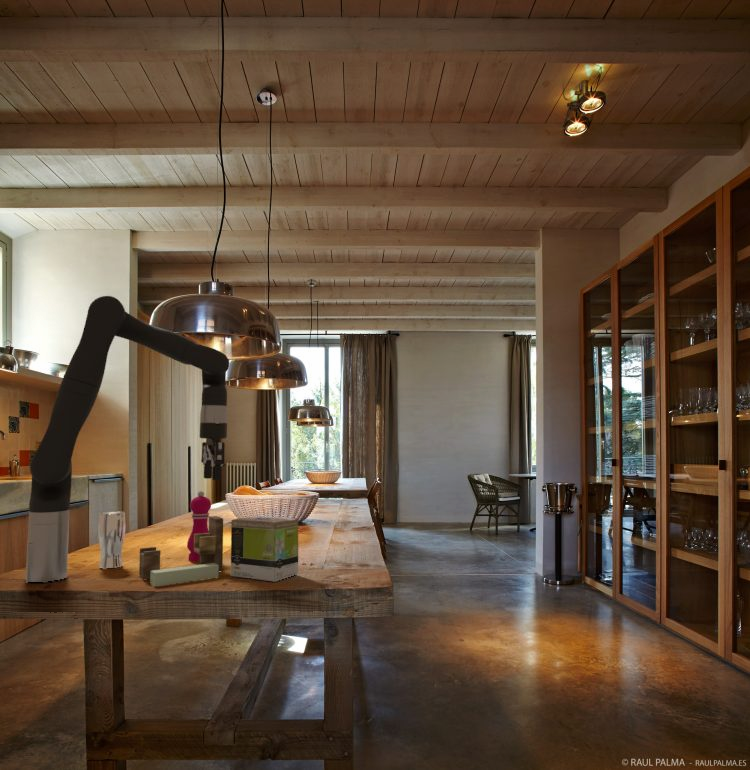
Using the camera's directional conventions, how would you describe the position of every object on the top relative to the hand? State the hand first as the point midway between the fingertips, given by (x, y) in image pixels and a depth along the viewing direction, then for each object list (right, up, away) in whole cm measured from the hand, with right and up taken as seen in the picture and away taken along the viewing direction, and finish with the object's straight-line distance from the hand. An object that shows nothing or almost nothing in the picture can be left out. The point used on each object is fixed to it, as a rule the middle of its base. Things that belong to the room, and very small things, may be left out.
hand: (211, 479), depth 173 cm
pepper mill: (-6, -25, +8) cm, 27 cm away
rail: (-1, -23, -20) cm, 30 cm away
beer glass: (-27, -24, -3) cm, 37 cm away
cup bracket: (+1, -23, -8) cm, 25 cm away
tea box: (+18, -23, -15) cm, 32 cm away
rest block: (-12, -23, -15) cm, 30 cm away
